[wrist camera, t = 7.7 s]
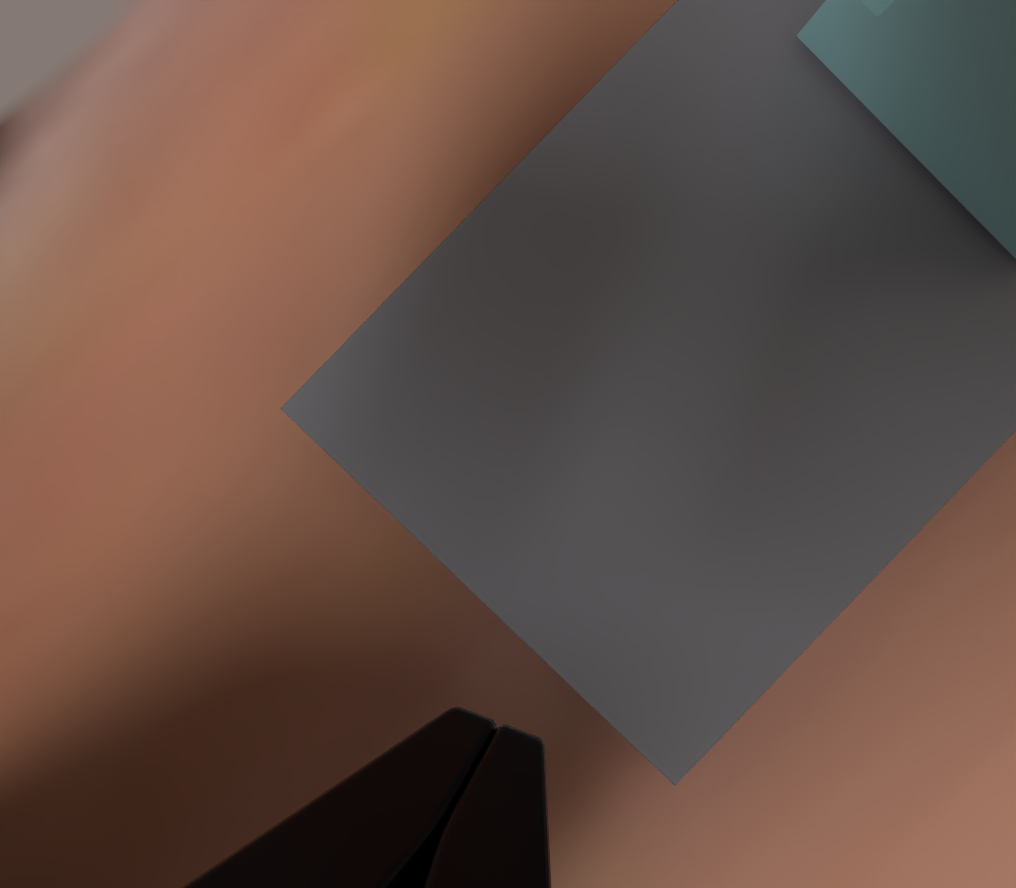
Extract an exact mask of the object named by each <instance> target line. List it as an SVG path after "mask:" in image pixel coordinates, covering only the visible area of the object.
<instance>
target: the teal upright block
mask: <svg viewBox="0 0 1016 888" xmlns="http://www.w3.org/2000/svg"><path fill="white" fill-rule="evenodd" d="M797 37H798V38H799V39H800V40H801V41H802V42H803V43H804V44H805V45H806V46H807V47H808V48H809V49H810V50H811V51H812V52H813V53H814V54H815V55H816V57H817V58H818V59H819V60H820V61H821V62H822V63H823V64H824V65H825V66H826V67H827V68H828V69H829V70H830V71H831V72H832V73H833V74H834V75H835V76H836V77H837V78H838V79H839V80H840V81H841V82H842V83H843V84H844V85H845V86H846V87H847V88H848V89H849V90H850V91H851V92H852V93H853V94H854V95H855V96H856V97H857V98H858V99H859V100H860V101H861V102H862V103H863V104H864V105H865V106H866V107H867V108H868V109H869V110H870V111H871V112H872V113H873V114H874V115H875V116H876V118H877V119H878V120H879V121H880V122H881V123H882V124H883V125H884V126H885V127H886V128H887V129H888V130H889V131H890V132H891V133H892V134H893V135H894V136H895V137H896V138H897V139H898V140H899V141H900V142H901V143H902V144H903V145H904V146H905V147H906V148H907V149H908V150H909V151H910V152H911V153H912V154H913V155H914V156H915V157H916V158H917V159H918V160H919V161H920V162H921V163H922V164H923V165H924V166H925V167H926V168H927V169H928V170H929V171H930V172H931V173H932V174H933V175H934V176H935V177H936V178H937V180H938V181H939V182H940V183H941V184H942V185H943V186H944V187H945V188H946V189H947V190H948V191H949V192H950V193H951V194H952V195H953V196H954V197H955V198H956V199H957V200H958V201H959V202H960V203H961V204H962V205H963V206H964V207H965V208H966V209H967V210H968V211H969V212H970V213H971V214H972V215H973V216H974V217H975V218H976V219H977V220H978V221H979V222H980V223H981V224H982V225H983V226H984V227H985V228H986V229H987V230H988V231H989V232H990V233H991V234H992V235H993V236H994V237H995V238H996V239H997V241H998V242H999V243H1000V244H1001V245H1002V246H1003V247H1004V248H1005V249H1006V250H1007V251H1008V252H1009V253H1010V254H1011V255H1012V256H1013V257H1014V258H1015V259H1016V0H826V1H825V2H824V3H823V4H822V6H821V7H820V8H819V9H818V10H817V12H816V13H815V14H814V15H813V16H812V18H811V19H810V20H809V21H808V22H807V24H806V25H805V26H804V27H803V28H802V30H801V31H800V32H799V33H798V34H797Z"/></svg>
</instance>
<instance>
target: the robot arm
mask: <svg viewBox="0 0 1016 888" xmlns="http://www.w3.org/2000/svg"><path fill="white" fill-rule="evenodd" d="M182 888H551V871H550V850H549V830H548V809H547V788H546V768H545V749H544V744H543V741H542V740H541V739H540V738H538V737H536V736H534V735H531V734H528V733H526V732H523V731H521V730H518V729H515V728H513V727H510V726H508V725H502V726H500V727H499V728H498V729H497V727H496V724H495V723H494V721H493V720H491V719H489V718H487V717H484V716H482V715H479V714H476V713H474V712H471V711H468V710H466V709H463V708H460V707H454V708H451V709H449V710H447V711H446V712H444V713H443V714H441V715H440V716H438V717H437V718H435V719H434V720H432V721H431V722H429V723H428V724H426V725H425V726H423V727H422V728H420V729H419V730H417V731H416V732H414V733H413V734H411V735H410V736H408V737H407V738H405V739H404V740H402V741H401V742H399V743H398V744H396V745H395V746H393V747H392V748H390V749H389V750H387V751H386V752H384V753H383V754H381V755H380V756H378V757H377V758H375V759H374V760H372V761H371V762H369V763H368V764H366V765H365V766H363V767H362V768H360V769H359V770H357V771H356V772H354V773H353V774H351V775H350V776H348V777H347V778H345V779H344V780H342V781H341V782H339V783H338V784H336V785H335V786H333V787H332V788H330V789H329V790H327V791H326V792H324V793H323V794H321V795H320V796H319V797H317V798H316V799H314V800H313V801H311V802H310V803H308V804H307V805H305V806H304V807H302V808H301V809H299V810H298V811H296V812H295V813H293V814H292V815H290V816H289V817H287V818H286V819H284V820H283V821H281V822H280V823H278V824H277V825H275V826H274V827H272V828H271V829H269V830H268V831H266V832H265V833H263V834H262V835H260V836H259V837H257V838H256V839H254V840H253V841H251V842H250V843H248V844H247V845H245V846H244V847H242V848H241V849H239V850H238V851H236V852H235V853H233V854H232V855H230V856H229V857H227V858H226V859H224V860H223V861H221V862H220V863H218V864H217V865H215V866H214V867H212V868H211V869H209V870H208V871H206V872H205V873H203V874H202V875H200V876H199V877H197V878H196V879H194V880H193V881H191V882H190V883H188V884H187V885H185V886H184V887H182Z"/></svg>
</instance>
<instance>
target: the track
mask: <svg viewBox="0 0 1016 888" xmlns="http://www.w3.org/2000/svg"><path fill="white" fill-rule="evenodd" d="M825 1H826V0H677V1H676V2H675V3H674V4H673V5H672V6H671V7H670V9H669V10H668V11H667V12H666V13H665V14H664V15H663V16H662V17H661V18H660V19H659V20H658V21H657V22H656V23H655V24H654V25H653V26H652V27H651V28H650V29H649V30H648V31H647V32H646V33H645V34H644V35H643V36H642V37H641V38H640V39H639V40H638V41H637V42H636V43H635V44H634V46H633V47H632V48H631V49H630V50H629V51H628V52H627V53H626V54H625V55H624V56H623V57H622V58H621V59H620V60H619V61H618V62H617V63H616V64H615V65H614V66H613V67H612V68H611V69H610V70H609V71H608V72H607V73H606V74H605V75H604V76H603V77H602V78H601V79H600V80H599V82H598V83H597V84H596V85H595V86H594V87H593V88H592V89H591V90H590V91H589V92H588V93H587V94H586V95H585V96H584V97H583V98H582V99H581V100H580V101H579V102H578V103H577V104H576V105H575V106H574V107H573V108H572V109H571V110H570V111H569V112H568V113H567V114H566V115H565V116H564V117H563V119H562V120H561V121H560V122H559V123H558V124H557V125H556V126H555V127H554V128H553V129H552V130H551V131H550V132H549V133H548V134H547V135H546V136H545V137H544V138H543V139H542V140H541V141H540V142H539V143H538V144H537V145H536V146H535V147H534V148H533V149H532V150H531V151H530V152H529V153H528V155H527V156H526V157H525V158H524V159H523V160H522V161H521V162H520V163H519V164H518V165H517V166H516V167H515V168H514V169H513V170H512V171H511V172H510V173H509V174H508V175H507V176H506V177H505V178H504V179H503V180H502V181H501V182H500V183H499V184H498V185H497V186H496V187H495V188H494V189H493V191H492V192H491V193H490V194H489V195H488V196H487V197H486V198H485V199H484V200H483V201H482V202H481V203H480V204H479V205H478V206H477V207H476V208H475V209H474V210H473V211H472V212H471V213H470V214H469V215H468V216H467V217H466V218H465V219H464V220H463V221H462V222H461V223H460V224H459V225H458V226H457V228H456V229H455V230H454V231H453V232H452V233H451V234H450V235H449V236H448V237H447V238H446V239H445V240H444V241H443V242H442V243H441V244H440V245H439V246H438V247H437V248H436V249H435V250H434V251H433V252H432V253H431V254H430V255H429V256H428V257H427V258H426V259H425V260H424V261H423V262H422V264H421V265H420V266H419V267H418V268H417V269H416V270H415V271H414V272H413V273H412V274H411V275H410V276H409V277H408V278H407V279H406V280H405V281H404V282H403V283H402V284H401V285H400V286H399V287H398V288H397V289H396V290H395V291H394V292H393V293H392V294H391V295H390V296H389V297H388V298H387V300H386V301H385V302H384V303H383V304H382V305H381V306H380V307H379V308H378V309H377V310H376V311H375V312H374V313H373V314H372V315H371V316H370V317H369V318H368V319H367V320H366V321H365V322H364V323H363V324H362V325H361V326H360V327H359V328H358V329H357V330H356V331H355V332H354V333H353V334H352V335H351V337H350V338H349V339H348V340H347V341H346V342H345V343H344V344H343V345H342V346H341V347H340V348H339V349H338V350H337V351H336V352H335V353H334V354H333V355H332V356H331V357H330V358H329V359H328V360H327V361H326V362H325V363H324V364H323V365H322V366H321V367H320V368H319V369H318V370H317V371H316V373H315V374H314V375H313V376H312V377H311V378H310V379H309V380H308V381H307V382H306V383H305V384H304V385H303V386H302V387H301V388H300V389H299V390H298V391H297V392H296V393H295V394H294V395H293V396H292V397H291V398H290V399H289V400H288V401H287V402H286V403H285V404H284V405H283V406H282V407H281V410H282V411H283V412H285V413H286V414H287V415H288V416H289V417H290V418H291V419H292V420H293V421H294V422H295V423H296V424H297V425H298V426H299V427H300V428H301V429H302V430H303V431H304V432H305V433H306V434H308V435H309V436H310V437H311V438H312V439H313V440H314V441H315V442H316V443H317V444H318V445H319V446H320V447H321V448H322V449H323V450H324V451H325V452H326V453H327V454H328V455H329V456H331V457H332V458H333V459H334V460H335V461H336V462H337V463H338V464H339V465H340V466H341V467H342V468H343V469H344V470H345V471H346V472H347V473H348V474H349V475H350V476H351V477H352V478H354V479H355V480H356V481H357V482H358V483H359V484H360V485H361V486H362V487H363V488H364V489H365V490H366V491H367V492H368V493H369V494H370V495H371V496H372V497H373V498H374V499H375V500H377V501H378V502H379V503H380V504H381V505H382V506H383V507H384V508H385V509H386V510H387V511H388V512H389V513H390V514H391V515H392V516H393V517H394V518H395V519H396V520H397V521H398V522H400V523H401V524H402V525H403V526H404V527H405V528H406V529H407V530H408V531H409V532H410V533H411V534H412V535H413V536H414V537H415V538H416V539H417V540H418V541H419V542H420V543H421V544H423V545H424V546H425V547H426V548H427V549H428V550H429V551H430V552H431V553H432V554H433V555H434V556H435V557H436V558H437V559H438V560H439V561H440V562H441V563H442V564H443V565H444V566H446V567H447V568H448V569H449V570H450V571H451V572H452V573H453V574H454V575H455V576H456V577H457V578H458V579H459V580H460V581H461V582H462V583H463V584H464V585H465V586H466V587H467V588H469V589H470V590H471V591H472V592H473V593H474V594H475V595H476V596H477V597H478V598H479V599H480V600H481V601H482V602H483V603H484V604H485V605H486V606H487V607H488V608H489V609H490V610H492V611H493V612H494V613H495V614H496V615H497V616H498V617H499V618H500V619H501V620H502V621H503V622H504V623H505V624H506V625H507V626H508V627H509V628H510V629H511V630H512V631H513V632H515V633H516V634H517V635H518V636H519V637H520V638H521V639H522V640H523V641H524V642H525V643H526V644H527V645H528V646H529V647H530V648H531V649H532V650H533V651H534V652H535V653H536V654H538V655H539V656H540V657H541V658H542V659H543V660H544V661H545V662H546V663H547V664H548V665H549V666H550V667H551V668H552V669H553V670H554V671H555V672H556V673H557V674H558V675H559V676H561V677H562V678H563V679H564V680H565V681H566V682H567V683H568V684H569V685H570V686H571V687H572V688H573V689H574V690H575V691H576V692H577V693H578V694H579V695H580V696H581V697H582V698H584V699H585V700H586V701H587V702H588V703H589V704H590V705H591V706H592V707H593V708H594V709H595V710H596V711H597V712H598V713H599V714H600V715H601V716H602V717H603V718H604V719H605V720H607V721H608V722H609V723H610V724H611V725H612V726H613V727H614V728H615V729H616V730H617V731H618V732H619V733H620V734H621V735H622V736H623V737H624V738H625V739H626V740H627V741H628V742H630V743H631V744H632V745H633V746H634V747H635V748H636V749H637V750H638V751H639V752H640V753H641V754H642V755H643V756H644V757H645V758H646V759H647V760H648V761H649V762H650V763H651V764H653V765H654V766H655V767H656V768H657V769H658V770H659V771H660V772H661V773H662V774H663V775H664V776H665V777H666V778H667V779H668V780H669V781H670V782H671V783H672V784H673V785H674V786H675V785H676V784H677V783H678V782H679V781H680V780H681V779H682V778H683V777H684V776H685V775H686V773H687V772H688V771H689V770H690V769H691V768H692V767H693V766H694V765H695V764H696V763H697V762H698V761H699V760H700V759H701V758H702V757H703V756H704V755H705V754H706V753H707V752H708V751H709V750H710V748H711V747H712V746H713V745H714V744H715V743H716V742H717V741H718V740H719V739H720V738H721V737H722V736H723V735H724V734H725V733H726V732H727V731H728V730H729V729H730V728H731V727H732V726H733V724H734V723H735V722H736V721H737V720H738V719H739V718H740V717H741V716H742V715H743V714H744V713H745V712H746V711H747V710H748V709H749V708H750V707H751V706H752V705H753V704H754V703H755V702H756V701H757V699H758V698H759V697H760V696H761V695H762V694H763V693H764V692H765V691H766V690H767V689H768V688H769V687H770V686H771V685H772V684H773V683H774V682H775V681H776V680H777V679H778V678H779V677H780V675H781V674H782V673H783V672H784V671H785V670H786V669H787V668H788V667H789V666H790V665H791V664H792V663H793V662H794V661H795V660H796V659H797V658H798V657H799V656H800V655H801V654H802V653H803V652H804V650H805V649H806V648H807V647H808V646H809V645H810V644H811V643H812V642H813V641H814V640H815V639H816V638H817V637H818V636H819V635H820V634H821V633H822V632H823V631H824V630H825V629H826V628H827V627H828V625H829V624H830V623H831V622H832V621H833V620H834V619H835V618H836V617H837V616H838V615H839V614H840V613H841V612H842V611H843V610H844V609H845V608H846V607H847V606H848V605H849V604H850V603H851V601H852V600H853V599H854V598H855V597H856V596H857V595H858V594H859V593H860V592H861V591H862V590H863V589H864V588H865V587H866V586H867V585H868V584H869V583H870V582H871V581H872V580H873V579H874V578H875V576H876V575H877V574H878V573H879V572H880V571H881V570H882V569H883V568H884V567H885V566H886V565H887V564H888V563H889V562H890V561H891V560H892V559H893V558H894V557H895V556H896V555H897V554H898V553H899V551H900V550H901V549H902V548H903V547H904V546H905V545H906V544H907V543H908V542H909V541H910V540H911V539H912V538H913V537H914V536H915V535H916V534H917V533H918V532H919V531H920V530H921V529H922V527H923V526H924V525H925V524H926V523H927V522H928V521H929V520H930V519H931V518H932V517H933V516H934V515H935V514H936V513H937V512H938V511H939V510H940V509H941V508H942V507H943V506H944V505H945V504H946V502H947V501H948V500H949V499H950V498H951V497H952V496H953V495H954V494H955V493H956V492H957V491H958V490H959V489H960V488H961V487H962V486H963V485H964V484H965V483H966V482H967V481H968V480H969V479H970V477H971V476H972V475H973V474H974V473H975V472H976V471H977V470H978V469H979V468H980V467H981V466H982V465H983V464H984V463H985V462H986V461H987V460H988V459H989V458H990V457H991V456H992V455H993V453H994V452H995V451H996V450H997V449H998V448H999V447H1000V446H1001V445H1002V444H1003V443H1004V442H1005V441H1006V440H1007V439H1008V438H1009V437H1010V436H1011V435H1012V434H1013V433H1014V432H1015V431H1016V259H1015V258H1014V257H1013V256H1012V255H1011V254H1010V253H1009V252H1008V251H1007V250H1006V249H1005V248H1004V247H1003V246H1002V245H1001V244H1000V243H999V242H998V241H997V239H996V238H995V237H994V236H993V235H992V234H991V233H990V232H989V231H988V230H987V229H986V228H985V227H984V226H983V225H982V224H981V223H980V222H979V221H978V220H977V219H976V218H975V217H974V216H973V215H972V214H971V213H970V212H969V211H968V210H967V209H966V208H965V207H964V206H963V205H962V204H961V203H960V202H959V201H958V200H957V199H956V198H955V197H954V196H953V195H952V194H951V193H950V192H949V191H948V190H947V189H946V188H945V187H944V186H943V185H942V184H941V183H940V182H939V181H938V180H937V178H936V177H935V176H934V175H933V174H932V173H931V172H930V171H929V170H928V169H927V168H926V167H925V166H924V165H923V164H922V163H921V162H920V161H919V160H918V159H917V158H916V157H915V156H914V155H913V154H912V153H911V152H910V151H909V150H908V149H907V148H906V147H905V146H904V145H903V144H902V143H901V142H900V141H899V140H898V139H897V138H896V137H895V136H894V135H893V134H892V133H891V132H890V131H889V130H888V129H887V128H886V127H885V126H884V125H883V124H882V123H881V122H880V121H879V120H878V119H877V118H876V116H875V115H874V114H873V113H872V112H871V111H870V110H869V109H868V108H867V107H866V106H865V105H864V104H863V103H862V102H861V101H860V100H859V99H858V98H857V97H856V96H855V95H854V94H853V93H852V92H851V91H850V90H849V89H848V88H847V87H846V86H845V85H844V84H843V83H842V82H841V81H840V80H839V79H838V78H837V77H836V76H835V75H834V74H833V73H832V72H831V71H830V70H829V69H828V68H827V67H826V66H825V65H824V64H823V63H822V62H821V61H820V60H819V59H818V58H817V57H816V55H815V54H814V53H813V52H812V51H811V50H810V49H809V48H808V47H807V46H806V45H805V44H804V43H803V42H802V41H801V40H800V39H799V38H798V37H797V34H798V33H799V32H800V31H801V30H802V28H803V27H804V26H805V25H806V24H807V22H808V21H809V20H810V19H811V18H812V16H813V15H814V14H815V13H816V12H817V10H818V9H819V8H820V7H821V6H822V4H823V3H824V2H825Z"/></svg>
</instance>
